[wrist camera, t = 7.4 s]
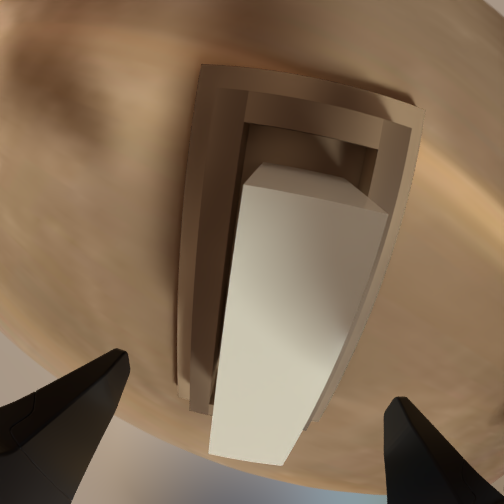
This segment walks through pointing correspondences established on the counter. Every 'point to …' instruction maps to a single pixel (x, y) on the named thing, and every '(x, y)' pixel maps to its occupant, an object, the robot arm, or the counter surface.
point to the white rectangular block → (288, 305)
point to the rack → (288, 154)
